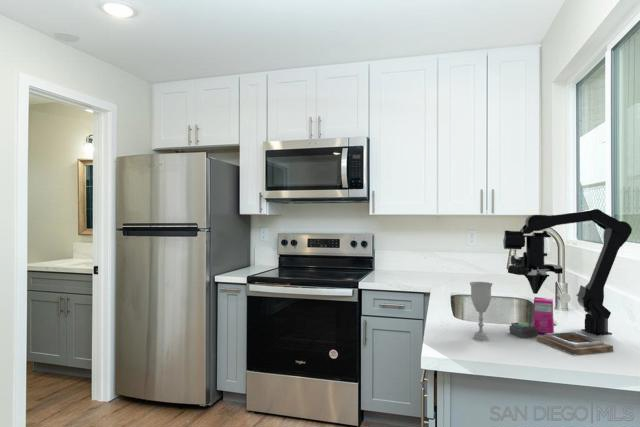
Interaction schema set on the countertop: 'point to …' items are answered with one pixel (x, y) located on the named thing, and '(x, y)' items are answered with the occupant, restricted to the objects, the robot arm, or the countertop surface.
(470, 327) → the countertop surface
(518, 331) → the control block
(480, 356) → the countertop surface
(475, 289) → the chalice
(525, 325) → the button
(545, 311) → the supplement box
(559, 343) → the wooden picture frame
